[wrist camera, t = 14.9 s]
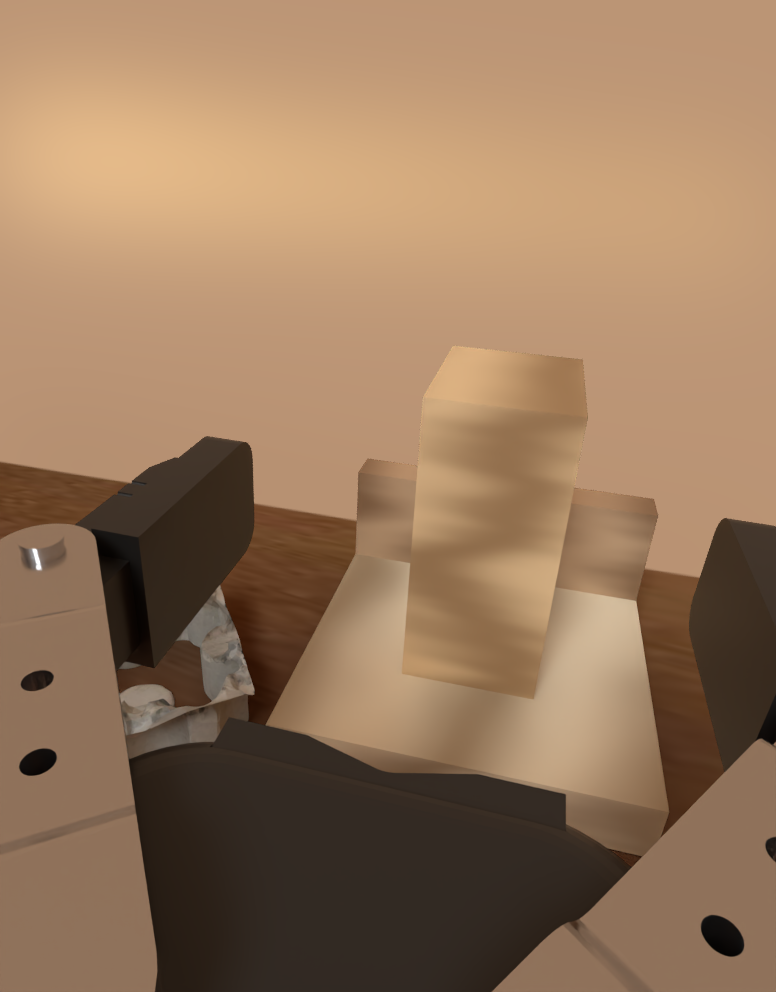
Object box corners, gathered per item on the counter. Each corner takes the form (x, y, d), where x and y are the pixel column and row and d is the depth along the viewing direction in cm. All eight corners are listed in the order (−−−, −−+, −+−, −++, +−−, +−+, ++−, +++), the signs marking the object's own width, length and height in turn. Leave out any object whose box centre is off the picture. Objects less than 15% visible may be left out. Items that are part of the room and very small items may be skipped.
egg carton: (229, 634, 29) (224, 550, 27) (265, 773, 23) (261, 676, 21) (-66, 685, 25) (-94, 593, 24) (-119, 867, 19) (-164, 760, 17)
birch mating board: (267, 769, 22) (261, 620, 20) (362, 574, 33) (367, 458, 30) (653, 858, 20) (706, 704, 18) (623, 618, 31) (654, 499, 28)
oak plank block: (401, 673, 24) (423, 397, 19) (431, 580, 29) (453, 345, 25) (533, 699, 23) (587, 417, 19) (539, 598, 28) (582, 359, 24)
